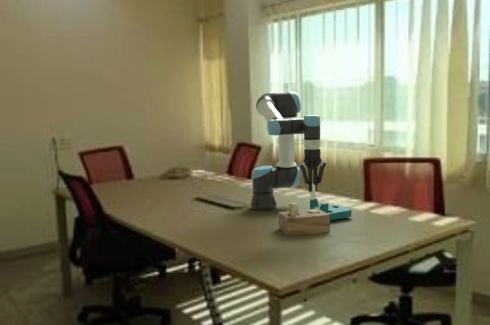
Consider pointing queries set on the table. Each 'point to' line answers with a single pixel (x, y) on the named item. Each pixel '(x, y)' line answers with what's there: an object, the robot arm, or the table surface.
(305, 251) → the table surface
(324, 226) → the socket block
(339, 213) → the teal l-shaped bracket
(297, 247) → the table surface
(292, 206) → the near peg
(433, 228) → the table surface
